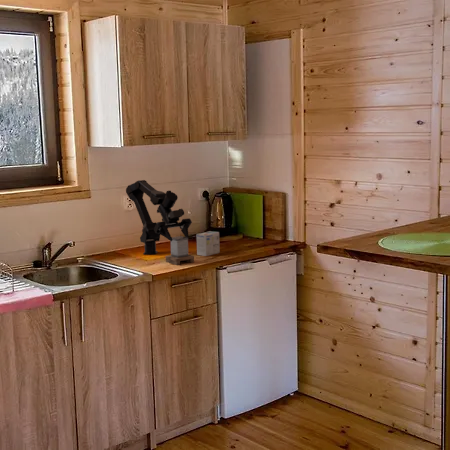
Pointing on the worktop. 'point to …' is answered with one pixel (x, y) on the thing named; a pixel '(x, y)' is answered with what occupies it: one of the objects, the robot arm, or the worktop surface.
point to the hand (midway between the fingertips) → (180, 239)
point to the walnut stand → (179, 259)
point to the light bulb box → (208, 243)
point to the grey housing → (179, 246)
